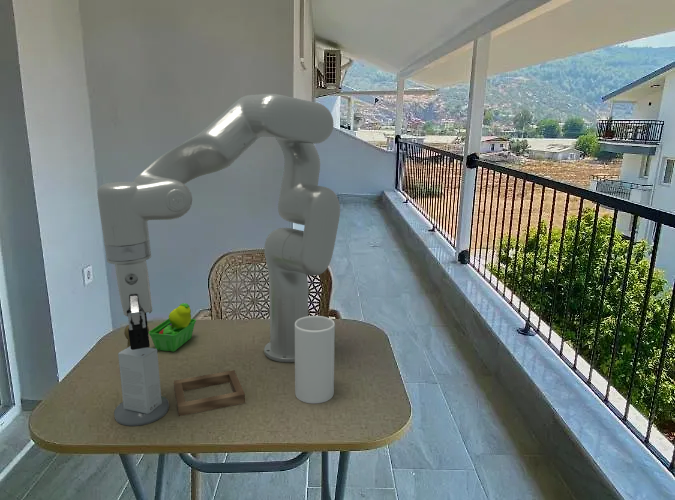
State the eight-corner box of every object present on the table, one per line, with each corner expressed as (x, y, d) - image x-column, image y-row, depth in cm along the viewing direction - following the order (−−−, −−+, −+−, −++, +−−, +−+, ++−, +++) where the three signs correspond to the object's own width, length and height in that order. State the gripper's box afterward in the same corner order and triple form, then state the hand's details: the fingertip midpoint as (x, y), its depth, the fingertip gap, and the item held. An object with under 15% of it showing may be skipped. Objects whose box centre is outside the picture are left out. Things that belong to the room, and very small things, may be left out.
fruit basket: (172, 333, 132) (169, 294, 129) (202, 336, 130) (200, 297, 128) (148, 351, 121) (144, 309, 118) (180, 355, 119) (177, 312, 117)
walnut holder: (234, 378, 109) (234, 370, 108) (245, 403, 99) (245, 394, 98) (174, 389, 104) (173, 380, 103) (178, 416, 94) (178, 407, 93)
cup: (306, 407, 98) (306, 334, 94) (288, 389, 104) (287, 320, 100) (341, 396, 102) (342, 325, 98) (321, 379, 109) (321, 312, 105)
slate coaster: (167, 393, 102) (166, 390, 102) (170, 419, 93) (170, 415, 93) (115, 403, 98) (114, 399, 98) (113, 430, 89) (113, 427, 89)
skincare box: (162, 403, 97) (158, 348, 94) (148, 415, 93) (143, 357, 90) (137, 398, 98) (132, 343, 96) (122, 409, 95) (116, 353, 92)
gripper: (152, 260, 81) (163, 352, 86) (148, 238, 97) (158, 317, 101) (103, 266, 79) (117, 361, 83) (107, 242, 94) (119, 323, 99)
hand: (139, 337), depth 92 cm, fingers open, 9 cm apart
